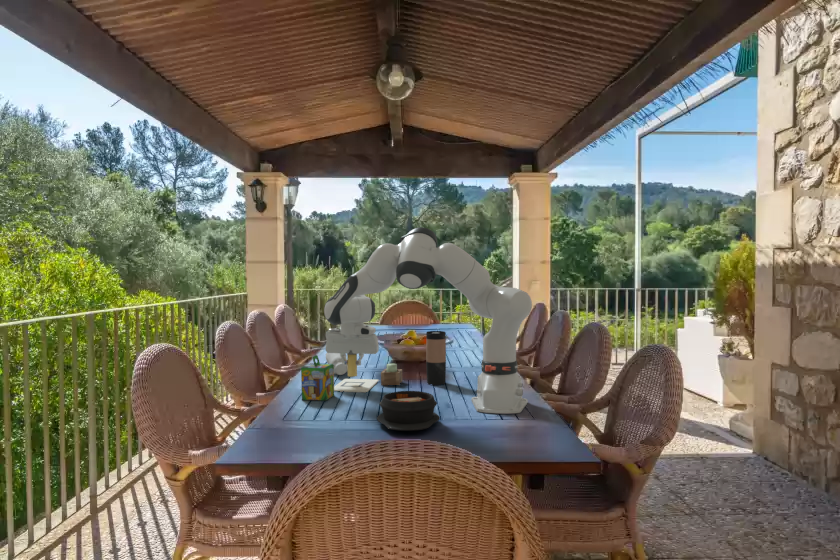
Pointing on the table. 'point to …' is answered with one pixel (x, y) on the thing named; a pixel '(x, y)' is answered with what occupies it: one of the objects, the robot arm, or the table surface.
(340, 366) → the bottle
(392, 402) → the casserole
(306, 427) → the table surface
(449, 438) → the table surface
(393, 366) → the button
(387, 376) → the button housing
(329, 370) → the chalk box
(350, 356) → the spice shaker
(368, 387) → the drawing pad
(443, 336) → the travel mug
